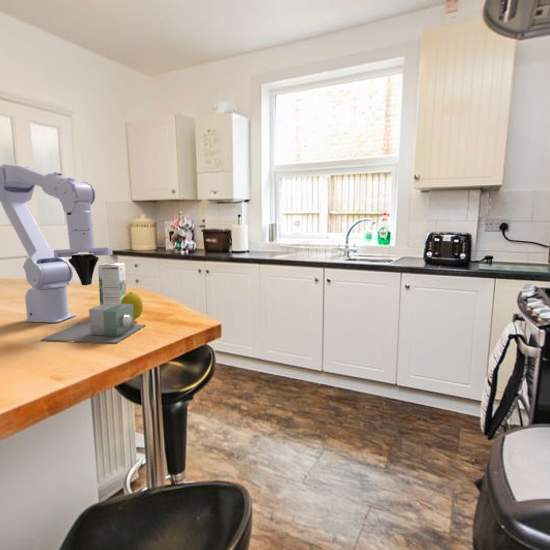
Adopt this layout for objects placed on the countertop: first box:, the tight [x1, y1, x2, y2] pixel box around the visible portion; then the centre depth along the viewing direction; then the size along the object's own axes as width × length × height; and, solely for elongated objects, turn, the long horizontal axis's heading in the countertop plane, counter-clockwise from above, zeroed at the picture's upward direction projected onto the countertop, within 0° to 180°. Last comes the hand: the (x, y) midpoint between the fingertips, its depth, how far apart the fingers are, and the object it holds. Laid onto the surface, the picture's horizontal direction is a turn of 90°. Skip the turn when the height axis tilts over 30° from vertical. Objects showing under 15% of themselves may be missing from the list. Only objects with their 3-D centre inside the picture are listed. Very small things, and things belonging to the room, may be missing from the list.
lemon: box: [121, 291, 144, 321], centre depth 101 cm, size 6×6×8 cm
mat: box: [40, 322, 146, 344], centre depth 91 cm, size 18×14×1 cm
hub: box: [88, 304, 119, 335], centre depth 90 cm, size 4×6×6 cm, turn 174°
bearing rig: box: [103, 304, 135, 338], centre depth 90 cm, size 8×8×6 cm
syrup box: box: [97, 262, 127, 305], centre depth 109 cm, size 6×6×14 cm
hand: (86, 284), depth 97 cm, fingers closed
